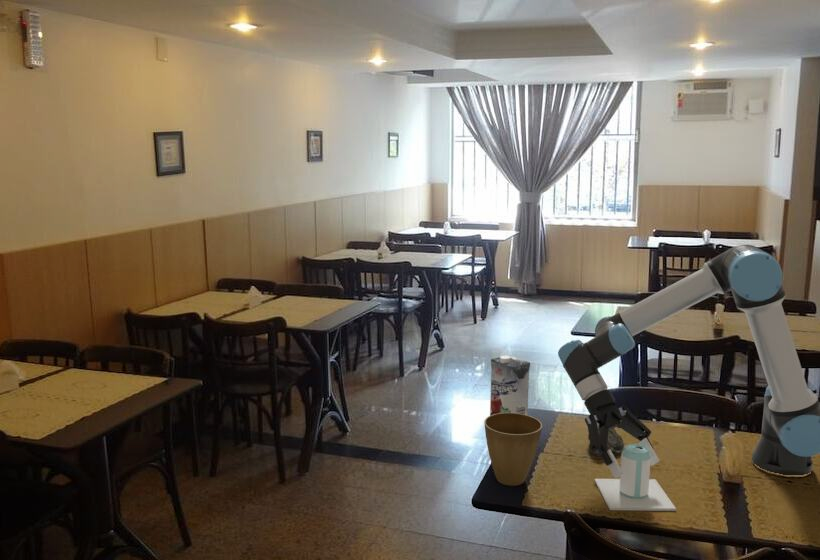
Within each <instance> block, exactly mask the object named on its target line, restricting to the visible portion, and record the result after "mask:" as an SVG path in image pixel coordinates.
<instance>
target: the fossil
mask: <svg viewBox="0 0 820 560" xmlns="http://www.w3.org/2000/svg"><path fill="white" fill-rule="evenodd" d="M597 426H599V424H598V423H597ZM598 433H599V431H598ZM587 437H588V440H589V434H588V436H587ZM624 449H625V445H624V441H623V438H622V436H621V435H620V434H618V432H617V431H616V428H610V429H609V430H608V443H607V450H611V452H612V453H613V455H614V456H617V455H620V454H622V451H623V450H624ZM588 452H589V453H592V452H591V447H590V444H589V446H588Z"/></svg>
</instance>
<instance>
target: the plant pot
mask: <svg viewBox="0 0 820 560" xmlns="http://www.w3.org/2000/svg"><path fill="white" fill-rule="evenodd" d="M483 423H484V433H485V438H486V445H487V450H488V455H489V459H490V463H491V466H492V469H493V472H494V473H493V474H494V475H495V478H496V480H497V482H499V483H500V484H502V485H505V486H511V487H512V486H513V487H514V486H515V487H516V486H520V485H522V484H524V483H525V482H526V479H527V477H528V475H529V472H530V470H531V468H532V465H533V463H534V460H535V457H536V455H537V454H536V453H537V449H538V447H539V443H540V440H541V439H540V438H541V435H542V429H543V423H542V422H541V421H540V420H539V419H537V418H535V417H533V416H531V415H528V414H527V415H525V414H519V413H497V414H493V415H491V416H490V415H489V416H487V417H486V418H485V419H484V422H483Z"/></svg>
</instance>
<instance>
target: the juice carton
mask: <svg viewBox="0 0 820 560" xmlns="http://www.w3.org/2000/svg"><path fill="white" fill-rule="evenodd" d="M530 369H531V362H529V361H527V360H522V359H520V358H518V357H515V356H514V355H501V356H499V357H494V358H490V371H491V373H490V406H489V407H490V408H489V409H490V410H489V416H491V415H493V414H497V413H519V414H525V415H528V411H529V410H528V409H529V407H528V406H529V389H530V388H529V387H530V386H529V385H530V384H529V383H530V382H529V380H530Z"/></svg>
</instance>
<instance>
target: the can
mask: <svg viewBox="0 0 820 560" xmlns="http://www.w3.org/2000/svg"><path fill="white" fill-rule="evenodd" d="M648 451H649V450H648V448H647V447H645V446H642V445H639V443H631V444H627V445H624V449H623V451H622V452H621V458H620V468H621V470H622V471H623V474H622V475H620V476H619V479H620V488H619V489H620V491H621V492H622V493H623V494H625V495H626V496H628V497H632V498H641V497H644V496H646V495H647V494H648V491H649V479H650V477H651V475H650V474H651V464H650V462H651V455H650V454H649V452H648Z"/></svg>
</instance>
